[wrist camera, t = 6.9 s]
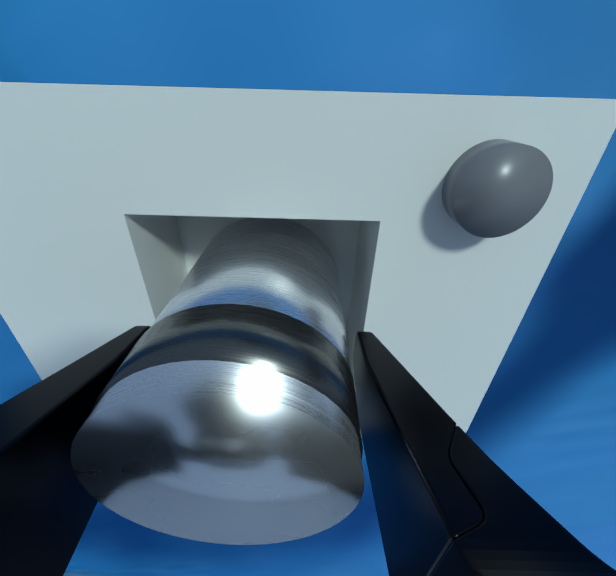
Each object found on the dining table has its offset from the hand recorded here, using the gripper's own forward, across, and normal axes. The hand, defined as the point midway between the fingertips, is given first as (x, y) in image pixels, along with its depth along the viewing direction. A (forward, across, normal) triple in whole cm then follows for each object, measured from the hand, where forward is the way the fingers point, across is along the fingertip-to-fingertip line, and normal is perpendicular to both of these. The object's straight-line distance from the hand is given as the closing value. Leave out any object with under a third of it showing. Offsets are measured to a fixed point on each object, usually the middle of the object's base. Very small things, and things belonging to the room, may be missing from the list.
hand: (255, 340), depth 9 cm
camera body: (+6, 0, 0) cm, 6 cm away
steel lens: (+3, 0, 0) cm, 3 cm away
